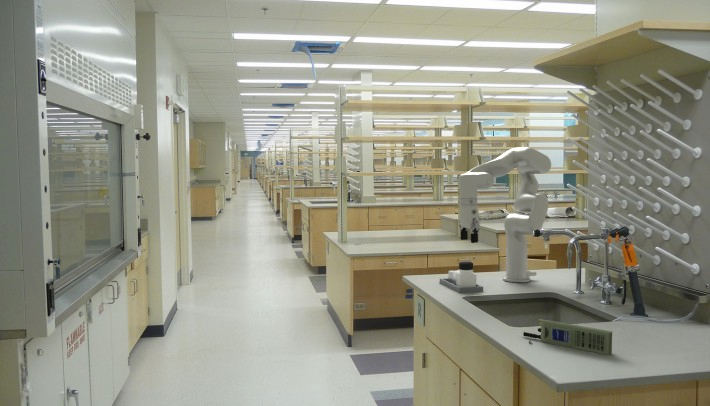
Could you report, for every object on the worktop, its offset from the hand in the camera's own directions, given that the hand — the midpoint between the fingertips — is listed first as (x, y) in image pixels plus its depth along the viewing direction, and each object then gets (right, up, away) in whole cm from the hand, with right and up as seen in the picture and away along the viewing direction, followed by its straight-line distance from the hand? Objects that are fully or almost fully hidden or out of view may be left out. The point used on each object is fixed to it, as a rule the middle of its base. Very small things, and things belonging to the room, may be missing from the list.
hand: (469, 241), depth 228 cm
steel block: (-4, -20, +8) cm, 22 cm away
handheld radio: (+12, -26, -74) cm, 79 cm away
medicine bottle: (-2, -21, -1) cm, 21 cm away
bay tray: (-3, -21, +3) cm, 22 cm away
